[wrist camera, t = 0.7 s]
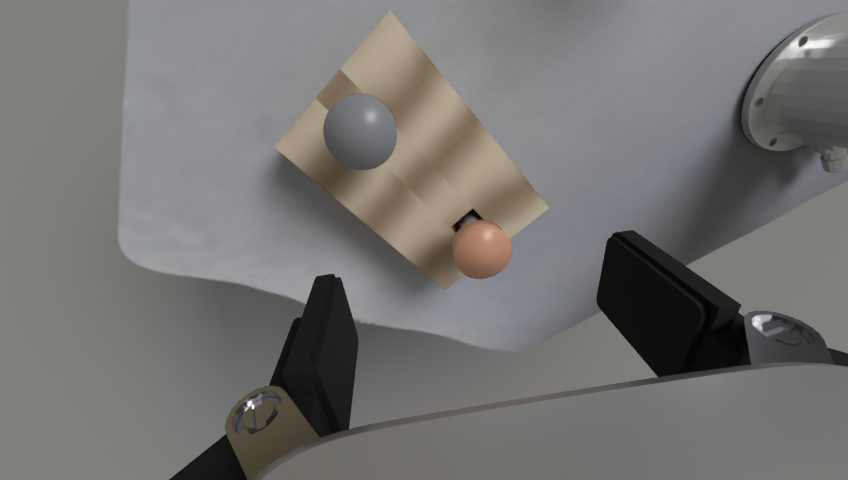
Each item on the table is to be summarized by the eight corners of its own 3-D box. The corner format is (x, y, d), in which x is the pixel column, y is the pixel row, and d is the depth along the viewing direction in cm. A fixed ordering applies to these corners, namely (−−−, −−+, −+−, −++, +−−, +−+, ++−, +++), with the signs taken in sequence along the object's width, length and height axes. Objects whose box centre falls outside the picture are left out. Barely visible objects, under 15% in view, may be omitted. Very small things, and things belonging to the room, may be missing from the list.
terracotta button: (501, 222, 34) (523, 254, 28) (465, 251, 35) (479, 288, 30) (471, 190, 32) (488, 217, 26) (434, 222, 33) (443, 255, 28)
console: (530, 190, 37) (549, 208, 32) (439, 265, 41) (444, 290, 36) (390, 18, 28) (389, 10, 24) (290, 135, 32) (274, 146, 27)
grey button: (407, 121, 28) (411, 135, 23) (368, 160, 30) (363, 184, 24) (364, 74, 26) (357, 77, 21) (325, 119, 28) (307, 134, 22)
